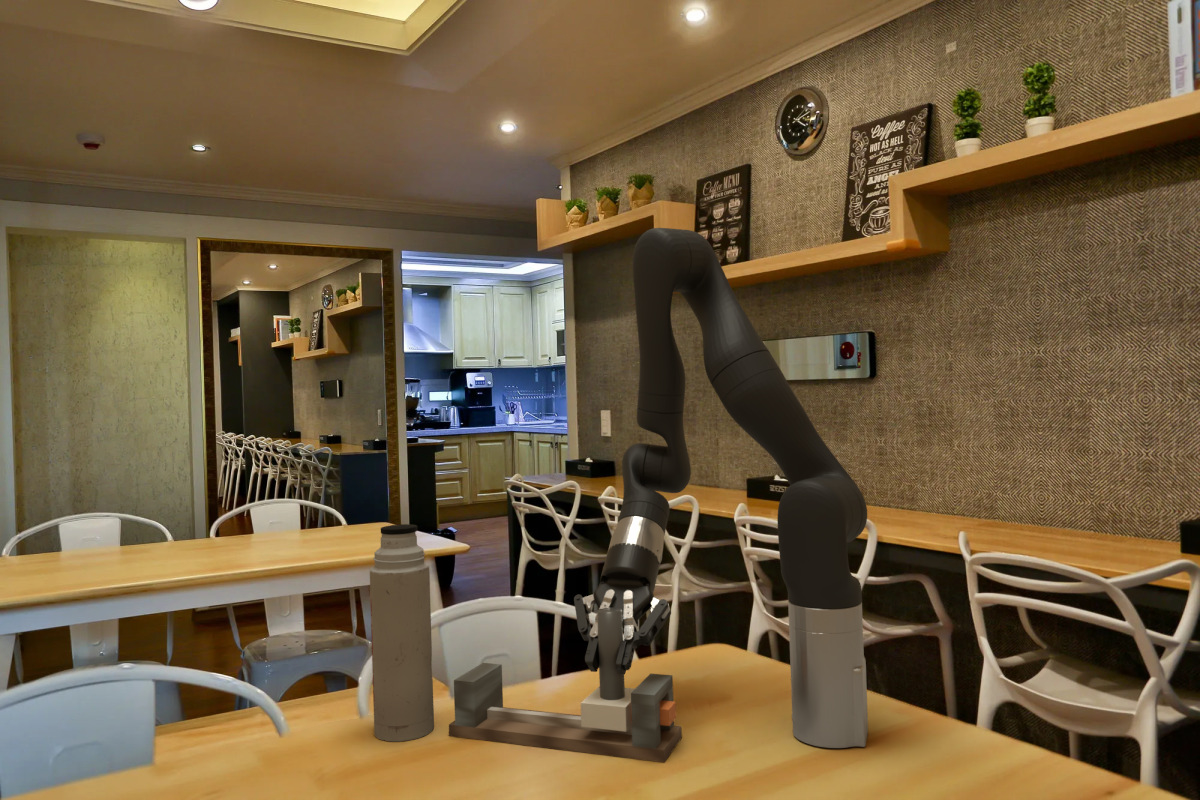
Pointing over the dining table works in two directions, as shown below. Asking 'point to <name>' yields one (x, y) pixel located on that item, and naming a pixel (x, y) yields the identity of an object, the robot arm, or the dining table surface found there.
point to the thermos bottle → (401, 637)
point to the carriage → (608, 679)
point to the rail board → (562, 720)
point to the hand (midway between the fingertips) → (606, 669)
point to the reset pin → (666, 712)
